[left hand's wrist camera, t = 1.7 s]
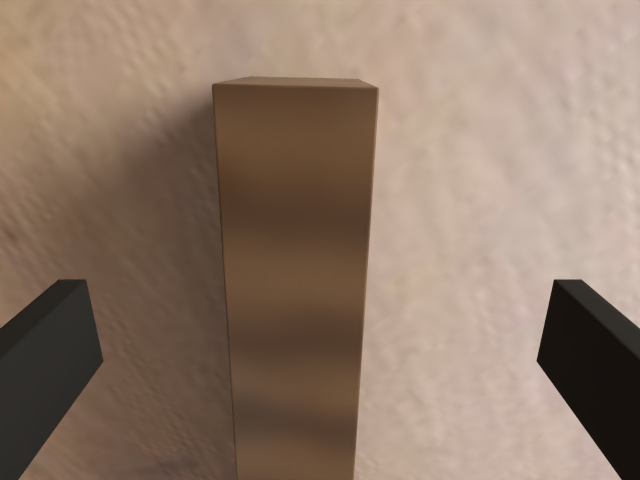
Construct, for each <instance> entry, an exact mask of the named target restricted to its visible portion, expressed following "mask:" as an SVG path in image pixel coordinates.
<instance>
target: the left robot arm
mask: <svg viewBox="0 0 640 480" xmlns="http://www.w3.org/2000/svg"><path fill="white" fill-rule="evenodd" d="M102 362H103V357H102V352H101V348H100V343H99V338H98V334H97V329H96V324H95V320H94V315H93V310H92V306H91V301H90V296H89V292H88V287H87V282H86V280H57V281H56V282H55V283H54V284H53V285H52V286H50V287H49V288H48V289H47V290H46V291H44V292H43V293H42V294H41V295H40V296H38V297H37V298H36V299H35V300H34V301H33V302H31V303H30V304H29V305H28V306H27V307H25V308H24V309H23V310H22V311H21V312H19V313H18V314H17V315H16V316H15V317H14V318H12V319H11V320H10V321H9V322H8V323H6V324H5V325H4V326H3V327H2V328H0V480H18V479H19V478H20V477H21V475H22V474H23V472H24V471H25V470H26V468H27V467H28V465H29V464H30V463H31V461H32V460H33V458H34V457H35V456H36V454H37V453H38V452H39V450H40V449H41V447H42V446H43V445H44V443H45V442H46V440H47V439H48V438H49V436H50V435H51V433H52V432H53V431H54V429H55V428H56V426H57V425H58V424H59V422H60V421H61V419H62V418H63V417H64V415H65V414H66V413H67V411H68V410H69V408H70V407H71V406H72V404H73V403H74V401H75V400H76V399H77V397H78V396H79V394H80V393H81V392H82V390H83V389H84V387H85V386H86V385H87V383H88V382H89V380H90V379H91V378H92V376H93V375H94V374H95V372H96V371H97V369H98V368H99V367H100V365H101V364H102ZM537 362H538V364H539V365H540V367H541V368H542V369H543V371H544V372H545V374H546V375H547V376H548V378H549V379H550V380H551V382H552V383H553V385H554V386H555V387H556V389H557V390H558V392H559V393H560V394H561V396H562V397H563V399H564V400H565V401H566V403H567V404H568V406H569V407H570V408H571V410H572V411H573V413H574V414H575V415H576V417H577V418H578V419H579V421H580V422H581V424H582V425H583V426H584V428H585V429H586V431H587V432H588V433H589V435H590V436H591V438H592V439H593V440H594V442H595V443H596V445H597V446H598V447H599V449H600V450H601V452H602V453H603V454H604V456H605V457H606V458H607V460H608V461H609V463H610V464H611V465H612V467H613V468H614V470H615V471H616V472H617V474H618V475H619V477H620V478H621V479H622V480H640V328H638V327H637V326H636V325H635V324H634V323H632V322H631V321H630V320H629V319H628V318H626V317H625V316H624V315H623V314H622V313H621V312H619V311H618V310H617V309H616V308H615V307H613V306H612V305H611V304H610V303H609V302H607V301H606V300H605V299H604V298H603V297H602V296H600V295H599V294H598V293H597V292H596V291H594V290H593V289H592V288H591V287H590V286H588V285H587V284H586V283H585V282H584V281H583V280H554V282H553V287H552V292H551V296H550V301H549V306H548V310H547V315H546V320H545V324H544V329H543V334H542V338H541V343H540V348H539V352H538V357H537Z"/></svg>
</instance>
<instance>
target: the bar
mask: <svg viewBox="0 0 640 480" xmlns="http://www.w3.org/2000/svg"><path fill="white" fill-rule="evenodd" d="M212 94H213V110H214V126H215V142H216V158H217V173H218V189H219V205H220V221H221V237H222V253H223V268H224V284H225V300H226V316H227V332H228V348H229V363H230V379H231V395H232V411H233V427H234V443H235V458H236V474H237V480H354V467H355V451H356V436H357V421H358V405H359V390H360V375H361V359H362V344H363V329H364V313H365V298H366V283H367V267H368V252H369V237H370V221H371V206H372V191H373V175H374V160H375V145H376V129H377V114H378V99H379V88H377V87H375V86H373V85H370V84H368V83H366V82H363V81H361V80H359V79H332V78H287V77H245V78H240V79H235V80H230V81H225V82H220V83H215V84H213V85H212Z"/></svg>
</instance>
